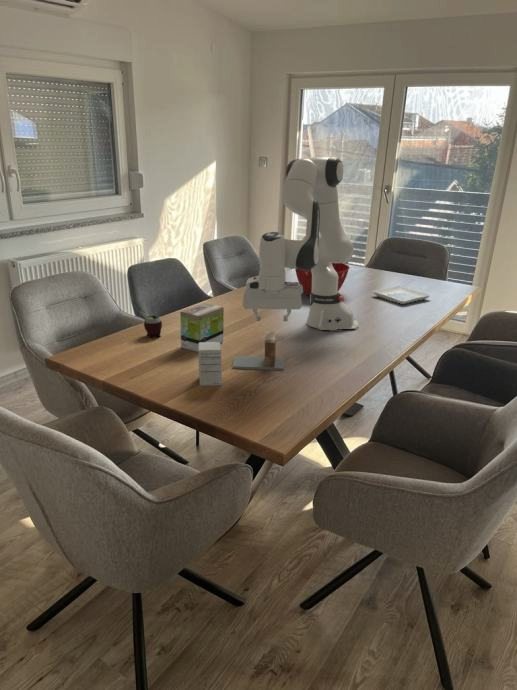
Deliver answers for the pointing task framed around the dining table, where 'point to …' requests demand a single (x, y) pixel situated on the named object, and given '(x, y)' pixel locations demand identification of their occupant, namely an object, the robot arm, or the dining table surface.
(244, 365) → the mat
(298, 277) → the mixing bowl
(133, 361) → the dining table surface
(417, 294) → the salad plate
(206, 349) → the supplement box
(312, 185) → the robot arm
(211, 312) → the tea box
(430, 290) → the dining table surface
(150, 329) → the mate gourd
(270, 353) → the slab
